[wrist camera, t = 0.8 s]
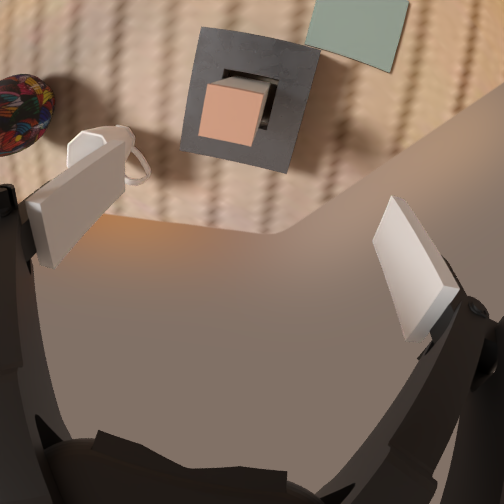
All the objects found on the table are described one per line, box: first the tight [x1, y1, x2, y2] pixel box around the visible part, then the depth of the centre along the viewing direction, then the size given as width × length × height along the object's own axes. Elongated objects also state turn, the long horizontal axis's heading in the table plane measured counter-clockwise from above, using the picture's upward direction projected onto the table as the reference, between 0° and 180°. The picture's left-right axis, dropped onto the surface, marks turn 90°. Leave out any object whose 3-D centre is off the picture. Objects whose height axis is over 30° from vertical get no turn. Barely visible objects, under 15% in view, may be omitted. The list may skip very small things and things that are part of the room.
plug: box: [198, 76, 271, 146], centre depth 26 cm, size 4×4×14 cm
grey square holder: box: [180, 27, 321, 174], centre depth 31 cm, size 14×12×4 cm
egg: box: [0, 74, 55, 157], centre depth 27 cm, size 11×11×15 cm
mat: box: [305, 0, 409, 73], centre depth 25 cm, size 10×10×1 cm
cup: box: [67, 125, 151, 186], centre depth 33 cm, size 7×10×8 cm
